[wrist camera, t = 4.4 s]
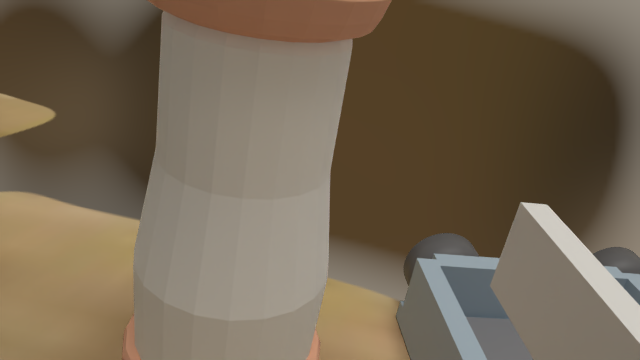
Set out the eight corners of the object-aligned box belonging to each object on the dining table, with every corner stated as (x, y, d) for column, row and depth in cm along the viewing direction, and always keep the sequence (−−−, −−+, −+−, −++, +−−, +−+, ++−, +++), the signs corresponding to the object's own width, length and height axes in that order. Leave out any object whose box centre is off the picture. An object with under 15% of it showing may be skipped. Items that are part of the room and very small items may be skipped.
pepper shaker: (339, 390, 24) (460, -108, 16) (231, 527, 18) (333, -152, 10) (207, 314, 27) (250, -141, 19) (78, 411, 21) (55, -189, 13)
